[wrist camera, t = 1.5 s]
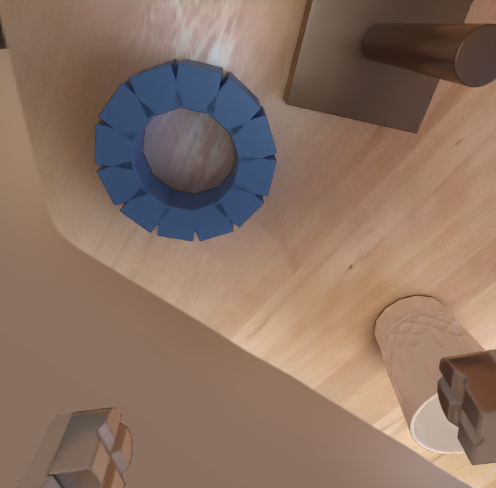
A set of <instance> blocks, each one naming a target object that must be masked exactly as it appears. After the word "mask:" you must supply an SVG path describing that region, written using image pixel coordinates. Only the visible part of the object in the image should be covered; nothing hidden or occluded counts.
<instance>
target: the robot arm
mask: <svg viewBox="0 0 496 488" xmlns="http://www.w3.org/2000/svg"><path fill="white" fill-rule="evenodd" d="M439 370H440V372H441V373H442V375H443V376H442V377H441V378H440V379H439V380H438V382H437V393H438V398H439V402H440V405H441V408H442V410H443V412H444V414H445V416H446V418H447V420H448V421H449V422H450V423H452V424H453V425H455V426H456V427H458V428H459V429H458V437H457V438H458V440H459V442H460V444H461V446H462V447H463V449H464V451H465V453H466V455H467V456H468V458H469V460H470V462H471V464H472V465H478V464H488V463H496V349H495V350H488V351H484V352H483V351H479V352H473V353H467V354H461V355H455V356H449V357H442V358H441V360H440V362H439ZM121 417H122V415H121V413H120V411H119V410H118V408H117V407H112V408H103V409H95V410H87V411H78V412H72V413H64V414H58V415H56V416H55V417H54V418H53V419H52V420H51V423H50V425H49V427H48V429H47V431H46V434H45V435H44V438H43V440H42V442H41V444H40V446H39V448H38V451H37V453H36V455H35V457H34V459H33V461H32V464H31V466H30V468H29V470H28V472H27V474H26V477H25V479H22V480H18V481H17V482H16V483H15V484H14V485H13V486H12V487H11V488H125V482H124V479H123V477H122V474H123V473H124V472H125V471H126V470H127V468H128V467H129V466H130V462H131V458H132V444H133V441H132V437H131V433H130V431H129V428H128V427H127V426H126V425H124V424H122V423H120V421H121Z"/></svg>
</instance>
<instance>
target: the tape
mask: <svg viewBox="0 0 496 488" xmlns="http://www.w3.org/2000/svg"><path fill="white" fill-rule="evenodd" d="M222 71H223V68H222V67H218V66H214V65H209V64H205V63H201V62H196V61H192V60H188V59H183V60H182V61H181V62H179V63H178V64H177V61H176V59H174V60H171V61H169V62H166V63H163V64H160V65H157V66H155V67H152V68H149V69H146V70H144V71H141V72H139V73H137V74H135V75H133V76H131V77H129V80H127V81H126V82H124V83H122V84H121V85H120V86H119V88H118V89H117V91H116V92H115V94H114V95H113V96H112V98H111V99H110V101H109V102H108V103H107V105H106V106H105V108H104V109H103V110H102V112H101V113H100V115H99V117H100V118H101V119H102V120H101V121H100V122H99V123H97V124H96V136H95V164H99V165H102V166H101V167H100V168H99V169H98V170H97V173H98V175H99V177H100V179H101V181H102V183H103V185H104V186H105V188H106V190H107V192H108V194H109V196H110V198H111V200H112V201H113V203H114V205H118V204H121V203H124V202H125V203H124V205H123V207H122V208H121V210H120V212H122V213H123V214H124V215H126V216H127V217H129V218H130V219H131V220H133V221H134V222H136V223H137V224H139V225H140V226H141V227H143V228H144V229H146V230H147V231H148V232H150V233H151V232H152V231H153V230H154V228H155V227H156V226H157V225H158V224H159V225H158V236H163V237H169V238H175V239H181V240H187V241H193V239H194V233H195V231H196V233H197V236H198V238H199V240H200V241H202V240H206V239H209V238H212V237H216V236H219V235H222V234H226V233H229V232H232V231H233V223H234V224H235V225H237V226H238V227H241V225H242V224H243V223H244V222H245V221H246V220H247V219H248V218H249V217H250V216H251V215H252V214H253V213H254V212H255V211H256V210H257V209H258V208H259V207H260V206H261V205H262V204H263V203H264V201H263V196H268V193H269V189H270V186H271V182H272V178H273V174H274V170H275V166H276V163H277V161H276V158H275V155H274V154H276V148H275V145H274V141H273V138H272V134H271V131H270V127H269V124H268V120H267V117H266V114H265V111H264V109H263V107H262V106H260V103H259V100H258V98H257V97H256V96H255V95H254V94H253V93H252V92H251V91H250V90H249V89H247V88H246V87H245V86H244V85H243V84H242V83H241V82H240V81H239V80H238V79H237V78H236V77H235V76H234V75H233V74H232V73H231V72H229V73H228V74H227V76H226V77H225V78H224V79H223V81H222V82H221V76H222ZM220 82H221V83H220ZM177 108H184V109H188V110H193V111H197V112H202V113H207V114H209V115H210V116H211V117H212V118H214V119H215V120H216V121H217V122H218V123H219V124H220V125H221V126H222V127H224V128H225V129H226V130H227V131H228V132H229V133H230V135H231V138H232V141H233V143H234V146H235V149H236V152H237V154H236V159H235V164H234V169H233V171H232V172H231V173H230V174H229V175H228V176H227V177H226V178H225V180H224V181H223V182H222V183H221V184H220V185H219V186H218V187H216V188H213V189H210V190H207V191H203V192H200V193H197V194H193V193H188V192H182V191H177V190H173V189H171V188H170V187H169V186H167V185H166V184H165V183H163V182H162V181H161V180H160V179H158V178H157V177H156V176H154V175H153V173H152V171H151V169H150V167H149V164H148V162H147V160H146V158H145V156H144V154H143V144H144V133H145V127H146V126H147V124H148V123H149V122H150V120H151V119H152V118H153V117H154V116H157V115H160V114H163V113H166V112H169V111H171V110H174V109H177Z"/></svg>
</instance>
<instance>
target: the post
mask: <svg viewBox="0 0 496 488" xmlns="http://www.w3.org/2000/svg"><path fill="white" fill-rule="evenodd" d="M472 2H473V0H308V3H307V7H306V11H305V15H304V19H303V23H302V27H301V31H300V35H299V39H298V43H297V47H296V51H295V55H294V59H293V63H292V67H291V71H290V75H289V79H288V83H287V87H286V91H285V95H284V101H285V103H286V104H288V105H293V106H297V107H301V108H306V109H310V110H315V111H319V112H324V113H328V114H332V115H337V116H341V117H346V118H350V119H355V120H359V121H363V122H368V123H372V124H377V125H381V126H386V127H390V128H395V129H399V130H403V131H408V132H412V133H417V132H418V130H419V127H420V125H421V122H422V120H423V118H424V115H425V113H426V111H427V108H428V106H429V103H430V101H431V99H432V96H433V94H434V92H435V89H436V87H437V85H438V82H439V80H440V79H442V80H446V81H450V82H453V83H457V84H461V85H465V86H468V87H481V86H484V85H487V84H489V83H490V82H492V81H494V80H495V79H496V24H463V23H464V21H465V18H466V16H467V13H468V11H469V9H470V6H471V4H472Z"/></svg>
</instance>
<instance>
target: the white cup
mask: <svg viewBox="0 0 496 488" xmlns="http://www.w3.org/2000/svg"><path fill="white" fill-rule="evenodd" d="M374 335H375V337H376V340H377V342H378V345H379V347H380V350H381V353H382V355H383V362H384V364H385V367H386V370H387V373H388V376H389V379H390V381H391V384H392V386H393V389H394V392H395V394H396V397H397V399H398V402H399V404H400V407H401V410H402V412H403V415H404V417H405V420H406V423H407V425H408V428H409V431H410V433H411V436H412V438H413V439H414V441H415V442H416V443H417V444H418V445H419V446H421V447H422V448H424V449H426V450H429V451H432V452H436V453H443V454H457V453H465V451H464V449H463V447H462V446H461V444H460V442H459V440H458V438H457V437H458V429H459V428H458V427H456V426H455V425H453V424H452V423H450V422H449V421H448V420H447V418H446V416H445V414H444V412H443V410H442V408H441V405H440V402H439V398H438V393H437V382H438V380H439V379H440V378H441V377H442V376H443V375H442V373H441V372H440V370H439V362H440V360H441V358H442V357H449V356H455V355H461V354H467V353H473V352H479V351H483V352H484V351H485V350H484V348H483V347H482V346H481V345H480V344H479V343H478V342H477V340H476V339H475V338H474V337H473V336H472V335H471V334H470V333H469V332H468V331H467V329H466V328H465V327H464V326H463V325H462V324H461V323H460V322H459V321H458V320H456V319H455V317H454V316H453V315H452V314H451V313H450V311H449V310H448V309H447V308H446V307H445V306H444V305H443V304H442V303H440V302H439V301H437V300H436V299H434V298H432V297H425V296H413V297H408V298H404V299H400V300H398V301H397V302H395V303H393V304H392V305H390V306H389V307H387V308H386V309H385V310H384V311H383V312H382V314H381V315H380V316H379V318H378V319H377V320H376V325H375V332H374Z"/></svg>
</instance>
